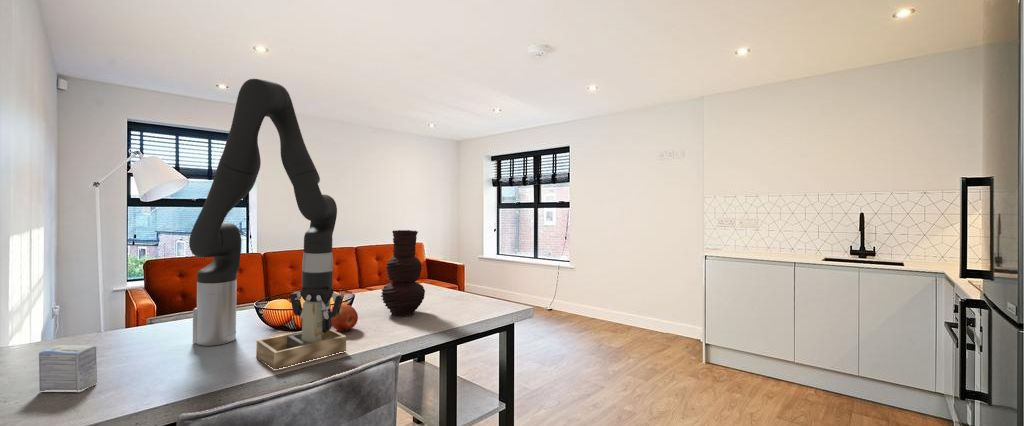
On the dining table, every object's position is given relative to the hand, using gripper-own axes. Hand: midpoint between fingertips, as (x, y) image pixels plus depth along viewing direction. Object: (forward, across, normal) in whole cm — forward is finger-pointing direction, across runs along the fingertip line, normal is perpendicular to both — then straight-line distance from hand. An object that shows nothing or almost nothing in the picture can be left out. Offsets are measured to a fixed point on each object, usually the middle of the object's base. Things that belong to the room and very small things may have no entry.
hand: (316, 331), depth 117 cm
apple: (+6, +1, +18) cm, 19 cm away
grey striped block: (+6, -40, -26) cm, 48 cm away
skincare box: (+4, 0, 0) cm, 4 cm away
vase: (+6, +14, +39) cm, 42 cm away
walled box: (+6, -2, -3) cm, 7 cm away
